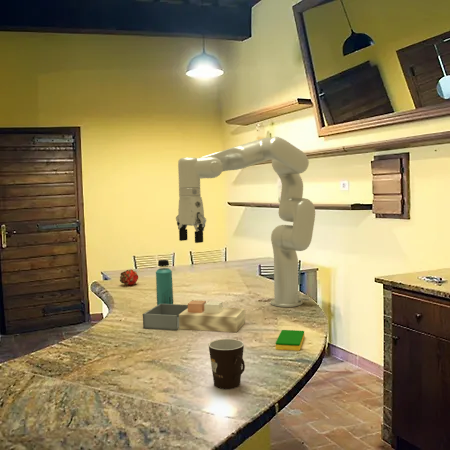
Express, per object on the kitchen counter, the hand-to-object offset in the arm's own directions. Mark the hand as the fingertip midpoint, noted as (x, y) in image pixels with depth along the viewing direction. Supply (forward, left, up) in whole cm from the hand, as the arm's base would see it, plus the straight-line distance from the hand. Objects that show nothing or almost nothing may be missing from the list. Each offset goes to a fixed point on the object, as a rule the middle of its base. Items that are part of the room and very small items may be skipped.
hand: (191, 241), depth 183 cm
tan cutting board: (-9, +5, -29) cm, 30 cm away
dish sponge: (-38, +18, -29) cm, 51 cm away
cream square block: (-9, +5, -24) cm, 26 cm away
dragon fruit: (+52, -56, -29) cm, 82 cm away
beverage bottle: (+15, -11, -29) cm, 34 cm away
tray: (+8, +5, -29) cm, 30 cm away
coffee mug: (-28, +55, -29) cm, 68 cm away
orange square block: (-3, +5, -24) cm, 24 cm away
